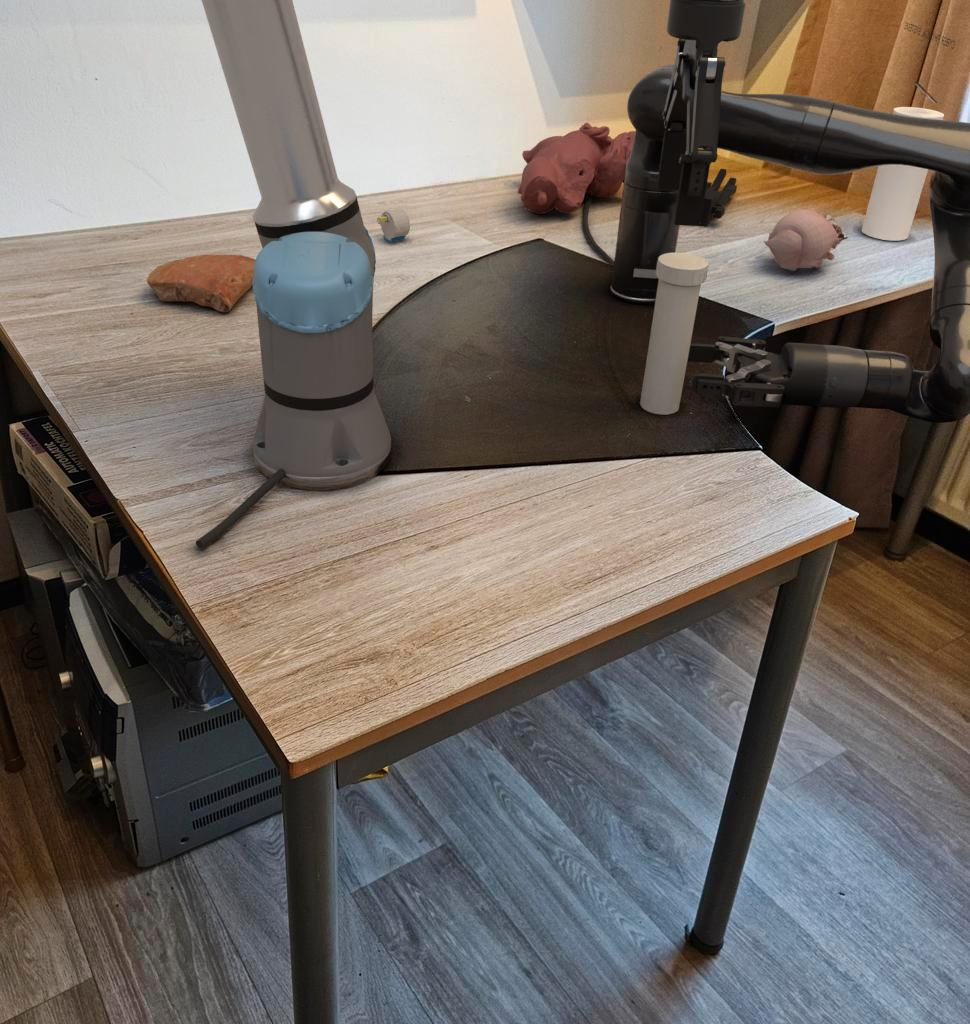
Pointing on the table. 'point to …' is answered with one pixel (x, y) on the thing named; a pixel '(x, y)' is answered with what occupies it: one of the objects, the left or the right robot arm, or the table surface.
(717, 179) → the toy
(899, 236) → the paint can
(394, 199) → the table surface
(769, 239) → the toy
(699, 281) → the lid
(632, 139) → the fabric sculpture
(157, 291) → the ceramic shard
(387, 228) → the electric motor
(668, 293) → the jar
